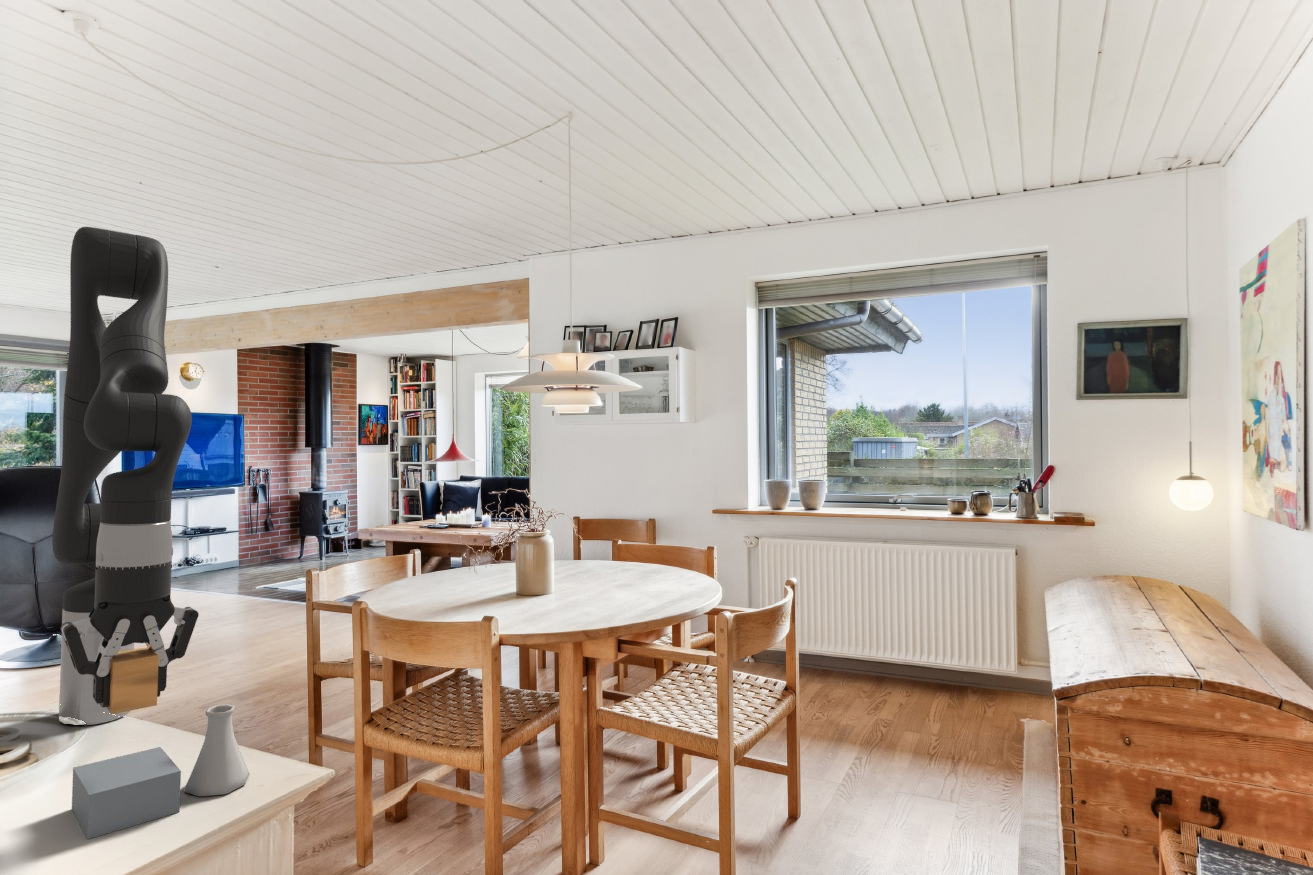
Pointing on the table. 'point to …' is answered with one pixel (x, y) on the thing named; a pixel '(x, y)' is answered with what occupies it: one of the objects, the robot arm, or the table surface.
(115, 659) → the orange block
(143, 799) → the pedestal
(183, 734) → the table surface
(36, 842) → the table surface
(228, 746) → the flask
